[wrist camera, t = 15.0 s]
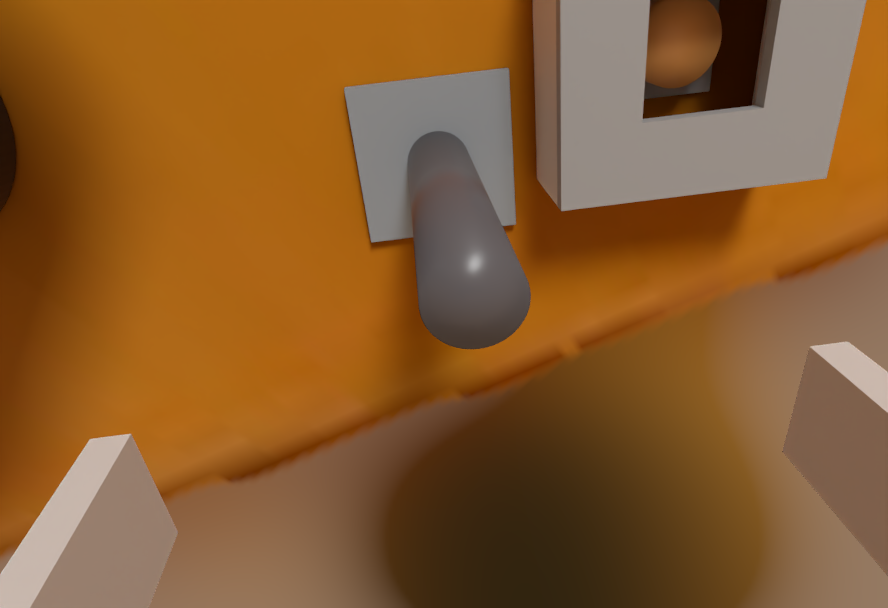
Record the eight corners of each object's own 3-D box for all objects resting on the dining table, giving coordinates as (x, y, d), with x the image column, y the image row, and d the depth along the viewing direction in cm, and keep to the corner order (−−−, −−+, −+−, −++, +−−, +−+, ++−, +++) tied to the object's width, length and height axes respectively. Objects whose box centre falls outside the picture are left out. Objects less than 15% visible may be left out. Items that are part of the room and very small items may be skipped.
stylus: (411, 196, 34) (425, 355, 19) (403, 134, 32) (412, 257, 17) (471, 189, 34) (531, 342, 19) (466, 127, 32) (529, 243, 18)
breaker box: (536, 179, 35) (561, 211, 30) (530, -101, 28) (559, -121, 23) (763, 151, 35) (826, 178, 30) (810, -133, 28) (902, -160, 23)
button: (621, 87, 32) (634, 93, 30) (625, -1, 30) (639, -1, 28) (698, 78, 32) (716, 83, 30) (708, -11, 30) (727, -11, 28)
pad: (371, 238, 36) (371, 242, 35) (344, 87, 31) (343, 88, 31) (514, 221, 36) (516, 224, 35) (507, 67, 32) (509, 68, 31)
